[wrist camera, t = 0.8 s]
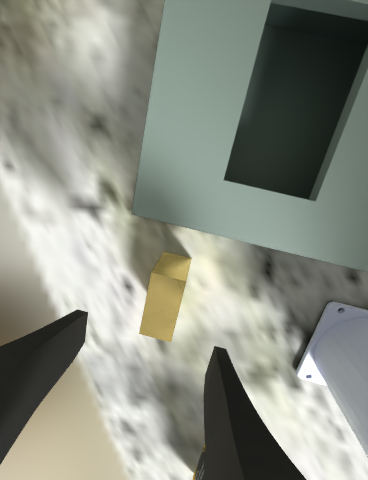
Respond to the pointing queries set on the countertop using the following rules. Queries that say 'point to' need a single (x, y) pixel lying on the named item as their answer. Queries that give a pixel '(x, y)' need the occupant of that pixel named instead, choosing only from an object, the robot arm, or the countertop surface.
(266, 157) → the box
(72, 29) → the countertop surface
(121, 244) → the countertop surface
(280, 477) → the robot arm
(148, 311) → the gold rectangular block
